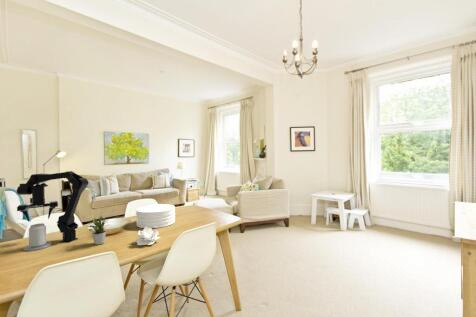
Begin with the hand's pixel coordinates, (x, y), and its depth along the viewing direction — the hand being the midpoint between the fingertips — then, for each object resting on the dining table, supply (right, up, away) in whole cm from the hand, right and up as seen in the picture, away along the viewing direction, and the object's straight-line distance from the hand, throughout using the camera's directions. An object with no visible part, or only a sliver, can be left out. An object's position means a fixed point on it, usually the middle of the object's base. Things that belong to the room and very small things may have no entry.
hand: (38, 220), depth 143 cm
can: (+7, -12, -9) cm, 17 cm away
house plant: (+38, -13, -3) cm, 40 cm away
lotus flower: (+67, -12, -3) cm, 69 cm away
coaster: (+7, -13, -9) cm, 17 cm away
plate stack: (+58, -12, +38) cm, 71 cm away
